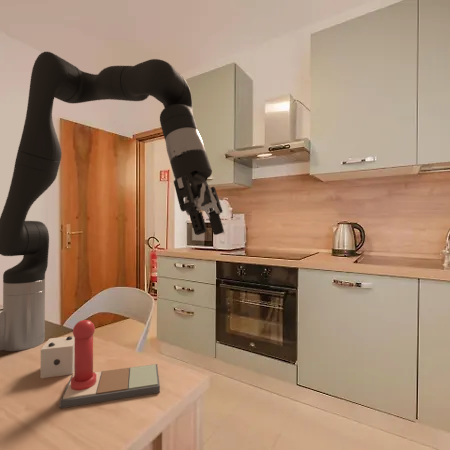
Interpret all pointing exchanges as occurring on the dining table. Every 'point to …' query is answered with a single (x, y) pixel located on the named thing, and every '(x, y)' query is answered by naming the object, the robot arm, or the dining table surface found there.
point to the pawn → (83, 356)
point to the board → (114, 386)
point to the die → (58, 357)
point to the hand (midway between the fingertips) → (210, 233)
